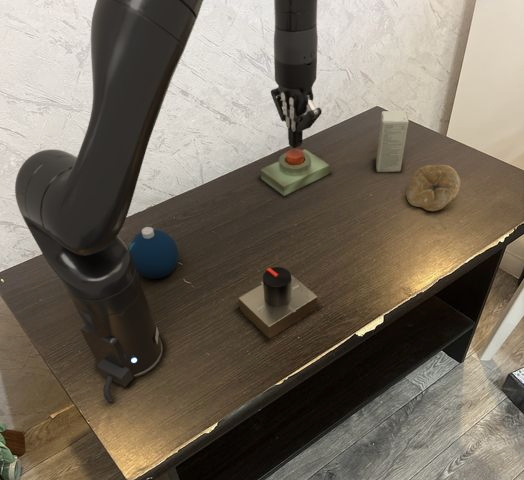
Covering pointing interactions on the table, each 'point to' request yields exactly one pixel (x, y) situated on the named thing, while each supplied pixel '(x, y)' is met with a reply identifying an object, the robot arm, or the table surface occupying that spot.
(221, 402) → the table surface
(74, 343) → the table surface
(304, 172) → the button block
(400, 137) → the box
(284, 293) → the dial
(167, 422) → the table surface
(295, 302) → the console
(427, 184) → the fossil
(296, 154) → the button
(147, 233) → the christmas ornament
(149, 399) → the table surface
